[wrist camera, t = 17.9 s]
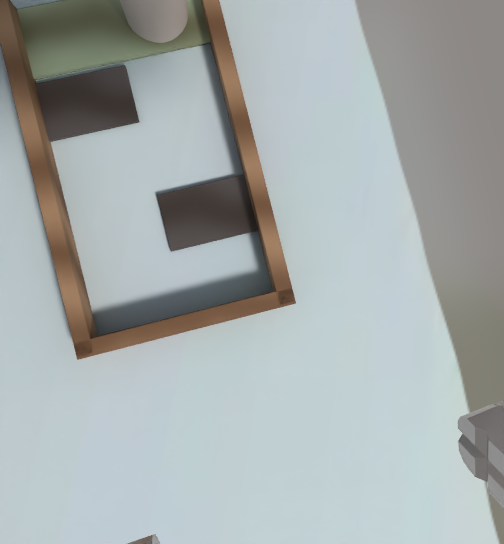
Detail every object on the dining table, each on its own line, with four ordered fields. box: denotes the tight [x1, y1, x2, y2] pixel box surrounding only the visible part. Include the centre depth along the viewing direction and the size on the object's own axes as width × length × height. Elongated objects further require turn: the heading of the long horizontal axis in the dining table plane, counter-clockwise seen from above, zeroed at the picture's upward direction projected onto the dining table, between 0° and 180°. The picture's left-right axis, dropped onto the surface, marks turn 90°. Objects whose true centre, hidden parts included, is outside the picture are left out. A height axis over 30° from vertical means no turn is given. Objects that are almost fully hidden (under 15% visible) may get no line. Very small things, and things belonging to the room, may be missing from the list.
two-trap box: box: [0, 0, 296, 360], centre depth 34 cm, size 27×16×2 cm, turn 14°
